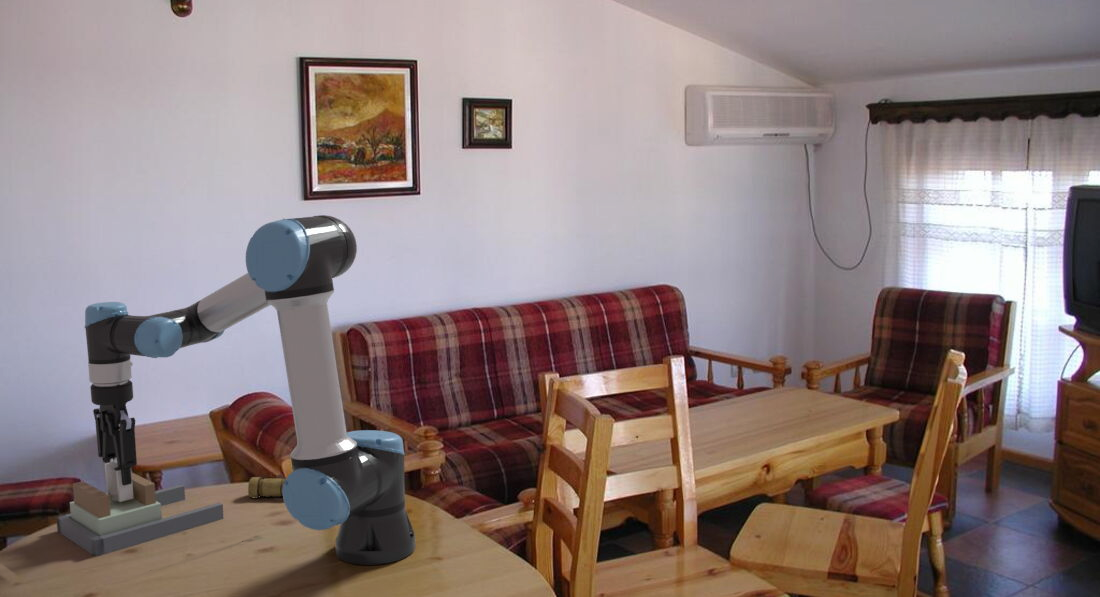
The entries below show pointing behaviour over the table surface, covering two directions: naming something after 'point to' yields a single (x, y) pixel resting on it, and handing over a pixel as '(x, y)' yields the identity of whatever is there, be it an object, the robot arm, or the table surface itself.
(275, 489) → the gavel
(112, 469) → the rook chess piece
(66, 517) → the bay
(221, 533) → the table surface
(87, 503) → the mint green base plate
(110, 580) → the table surface
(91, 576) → the table surface
